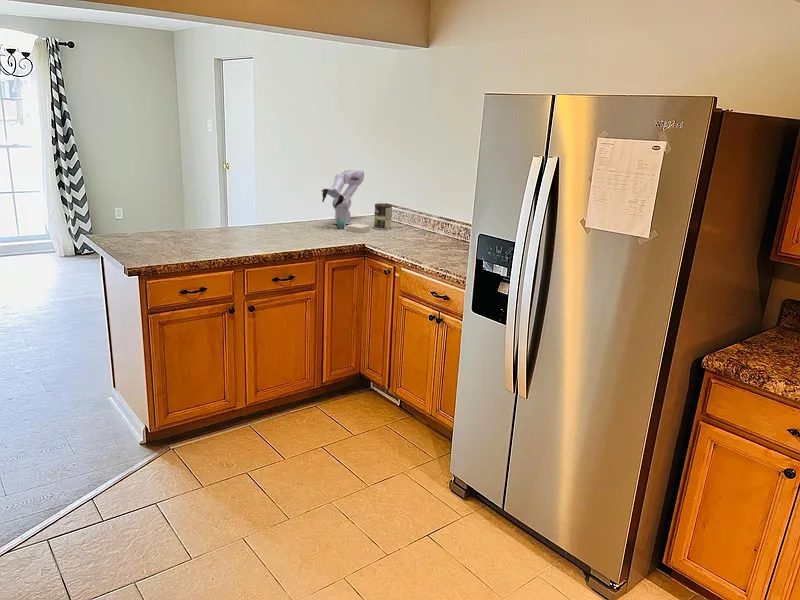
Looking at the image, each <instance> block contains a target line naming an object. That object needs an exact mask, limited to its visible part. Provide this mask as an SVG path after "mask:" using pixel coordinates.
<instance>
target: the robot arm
mask: <svg viewBox="0 0 800 600" xmlns="http://www.w3.org/2000/svg"><path fill="white" fill-rule="evenodd" d="M343 171H344V172H341V173H336V174H335V177H334V180H333V181H334V182H333V185H332V186H331V188H328V187H324V186H323V187H322V188H321V192H322V193H321V195H322V203H324V202H325V199H326V197H327V195H329V197H331V198H332V203H331V204H332V207H333V209H334V210H335V211H334V213H335V214H334V222H332V225H335V224H337V218H344V226H347V225H346V224H348V225H350V224H349V223H351V212H350V208H351V205H352V199H351V198H352V197H353V195H354V194H355V193H356V191H357V190H358V188H359V186H361V184H362V183H363V182H364V179H365V178H364V177H365V172H364V170H357V169H356V170H354V169H348V170H343ZM344 185H348V186H347V187H346V189H345V190H344V192H343V193H341V192H342V190H343V188H344Z"/></svg>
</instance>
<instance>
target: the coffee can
mask: <svg viewBox="0 0 800 600" xmlns="http://www.w3.org/2000/svg"><path fill="white" fill-rule="evenodd" d="M392 209H393V205H392V204H390V203H382V202H381V203H374V219H373V221H374V222H373V224H374V225H373V228H374V229H375V228H378V229H377V230H381V229H388V230H391V229H392V227H391V226H392V215H393V214H392V211H393V210H392ZM390 228H391V229H390Z"/></svg>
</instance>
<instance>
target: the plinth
mask: <svg viewBox="0 0 800 600" xmlns="http://www.w3.org/2000/svg"><path fill="white" fill-rule="evenodd" d="M345 226H346V228H345V232H350V231H352V232H353V233H357V232H359V233H358V234H363V233H362V232H364V233H366V231H367V232H370V231H371V225H367V224H361V223H351V224H348V225H345ZM369 230H370V231H369ZM352 232H351V233H352Z"/></svg>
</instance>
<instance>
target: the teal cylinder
mask: <svg viewBox="0 0 800 600" xmlns="http://www.w3.org/2000/svg"><path fill="white" fill-rule="evenodd" d="M336 228H337V229H336V230H339V229H343V230H345V225H344V218H337V225H336Z"/></svg>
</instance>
